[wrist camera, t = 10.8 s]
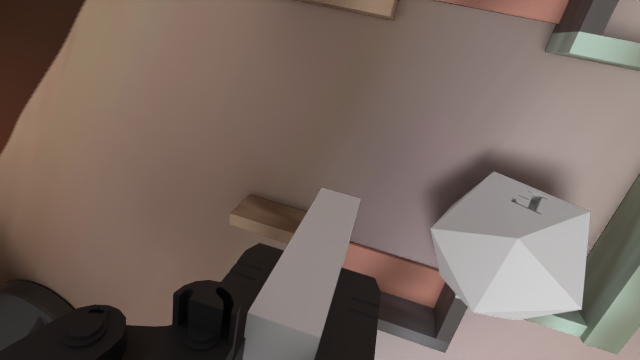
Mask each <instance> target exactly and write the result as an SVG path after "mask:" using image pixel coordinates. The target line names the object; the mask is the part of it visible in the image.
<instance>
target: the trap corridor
mask: <svg viewBox="0 0 640 360" xmlns="http://www.w3.org/2000/svg"><path fill="white" fill-rule="evenodd" d="M296 1H301V2H305V3H310V4H315V5H320V6H325V7H330V8H335V9H340V10H344V11H349V12H354V13H359V14H364V15H369V16H374V17H379V18H383V19H388V20H393V21H394V17H395V13H396V9H397V6H398V2H399V0H296ZM435 1H440V2H445V3H451V4H456V5H461V6H466V7H471V8H477V9H482V10H487V11H492V12H497V13H502V14H508V15H513V16H518V17H523V18H528V19H534V20H539V21H544V22H549V23H554V24H557V25H556V27H555V29H554V31H553V34H552V36H551V38H550V41H549V43H548V45H547V47H546V50H545V52H549V53H554V54H559V55H564V56H569V57H574V58H578V59H583V60H588V61H593V62H598V63H603V64H608V65H613V66H617V67H622V68H627V69H632V70H637V71H640V43H636V42H631V41H626V40H621V39H616V38H610V37H605V36H601V35H602V33H603V31H604V29H605V27H606V25H607V23H608V21H609V19H610V17H611V15H612V13H613V11H614V9H615V7H616V5H617V3H618V1H619V0H435ZM306 213H307V212H305V211H302V210H298V209H295V208H292V207H288V206H285V205H282V204H279V203H275V202H272V201H269V200H265V199H262V198H259V197H256V196H252V195H250V196H248V197H247V198H246V199H245V200H244V201H243V202H242V203H241V204H240V205H239V206H238V207H237V208H235V209H234V210H233V211H232V212H231V213H230V219H229V225H231V226H234V227H238V228H241V229H244V230H247V231H250V232H253V233H256V234H259V235H262V236H266V237H269V238H272V239H275V240H278V241H281V242H284V243H287V244H289V242H290V240H291V239H292V237H293V235H294V234H295V232H296V230H297V229H298V227H299V225H300V224H301V222H302V220H303V218H304V217H305V215H306ZM342 268H345V269H348V270H352V271H355V272H358V273H361V274H364V275H368V276H371V277H374V278H375V279H376V281H377V284H378V286H379V289H380V291H381V296H380V306H379V316H378V325H377V329H378V330H381V331H384V332H386V333H389V334H392V335H395V336H398V337H401V338H404V339H407V340H409V341H412V342H415V343H418V344H421V345H424V346H427V347H430V348H432V349H435V350H438V351H441V352H444V353H445V352H446V350H447V348H448V346H449V344H450V342H451V340H452V338H453V336H454V334H455V332H456V330H457V328H458V326H459V324H460V322H461V320H462V318H463V316H464V314H465V312H466V309H467V305H466V304H465V303H464V302H463V301H462V300H461V299H460V298H459V296H458V295H457V294H456V293H455V292H454V291H453V290H452V289H451V288H450V286H449V285H448V284H447V283H446V282H445V281H444V280H443V279H442V277H441V276H440V274H439V269H436V268H432V267H429V266H426V265H423V264H419V263H416V262H413V261H410V260H407V259H403V258H400V257H397V256H394V255H391V254H387V253H384V252H381V251H378V250H375V249H371V248H368V247H365V246H362V245H358V244H355V243H352V242H349V245H348V248H347V252H346V256H345V259H344V263H343V266H342ZM524 320H527V321H530V322H533V323H536V324H539V325H543V326H546V327H549V328H552V329H555V330H558V331H561V332H564V333H568V334H571V335H574V336H577V337H580V338H581V340H582V342H583V344H586V345H589V346H592V347H596V348H599V349H602V350H605V351H608V352H611V353H614V354H617V355H618V353H619V352H620V351H621V349H622V348H623V347H624V346H625V344H626V343H627V342H628V341H629V339H630V338H631V337H632V336H633V334H634V333H635V332H636V331H637V329H638V328H639V327H640V174H639V176H638V178H637V179H636V181H635V182H634V184H633V186H632V187H631V189H630V190H629V192H628V193H627V195H626V197H625V198H624V200H623V201H622V203H621V204H620V206H619V208H618V209H617V211H616V212H615V214H614V216H613V217H612V219H611V220H610V222H609V223H608V225H607V227H606V228H605V230H604V231H603V233H602V234H601V236H600V238H599V239H598V241H597V242H596V244H595V246H594V247H593V249H592V250H591V252H590V253H589V255H588V257H587V258H586V268H585V279H584V290H583V301H582V310H576V311H570V312H564V313H557V314H551V315H545V316H539V317H533V318H527V319H524Z"/></svg>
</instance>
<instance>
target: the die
mask: <svg viewBox="0 0 640 360" xmlns="http://www.w3.org/2000/svg"><path fill="white" fill-rule="evenodd" d="M589 223H590V211H588V210H585V209H583V208H581V207H578V206H576V205H573V204H571V203H569V202H566V201H564V200H561V199H559V198H557V197H554V196H552V195H549V194H547V193H545V192H542V191H540V190H537V189H535V188H533V187H530V186H528V185H526V184H523V183H521V182H518V181H516V180H514V179H511V178H509V177H506V176H504V175H502V174H499V173H497V172H493V173H491V174H490V175H489V176H488V177H486V178H485V179H484V180H483V181H481V182H480V183H479V184H478V185H477V186H475V187H474V188H473V189H472V190H470V191H469V192H468V193H467V194H465V195H464V196H463V197H462V198H460V199H459V200H458V201H457V202H455V203H454V204H453V205H452V206H451V207H450V208H449V209H448V210H447V211H446V212H445V213H444V214H443V215H442V216H441V218H440V219H439V220H438V221H437V222H436V223H435V224H434V225H433V226H432V227H431V228H430V230H431V235H432V240H433V245H434V249H435V254H436V259H437V264H438V269H439V274H440V276H441V277H442V279H443V280H444V281H445V282H446V283H447V284H448V285H449V286H450V288H451V289H452V290H453V291H454V292H455V293H456V294H457V295H458V296H459V298H460V299H461V300H462V301H463V302H464V303H465V304H466V305H467V307H468V308H469V309H470V310H471V311H472V312H473V313H478V314H483V315H489V316H494V317H500V318H505V319H511V320H521V319H527V318H533V317H539V316H545V315H551V314H557V313H564V312H570V311H576V310H582V301H583V290H584V279H585V268H586V256H587V245H588V234H589Z"/></svg>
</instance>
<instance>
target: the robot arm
mask: <svg viewBox="0 0 640 360" xmlns="http://www.w3.org/2000/svg"><path fill="white" fill-rule="evenodd" d="M360 201H361V199H360V198H357V197H353V196H350V195H346V194H343V193H339V192H336V191H332V190H328V189H325V188H321V190H320V192H319V193H318V195H317V197H316V198H315V200H314V202H313V203H312V205H311V207H310V208H309V210H308V212H307V213H306V215H305V217H304V218H303V220H302V222H301V224H300V225H299V227H298V229H297V230H296V232H295V234H294V235H293V237H292V239H291V240H290V242H289V244H288V245H287V247H286V249H285V250H284V251H283V250H280V249H277V248H274V247H271V246H267V245H264V244H261V243H259V244H257V245H255V246H253V247H251V248H249V249H247V250H246V251H245V252H244V253H243V255H242V256H241V257H240V258H239V260H238V261H237V263H236V264H235V265H234V266H233V267H232V269H231V270H230V272H229V273H228V274H227V275H226V276H225V278H224V279H223V280H222V281H221V282H217V281H212V280H205V281H195V282H193V283H190V284H187V285H184V286H183V287H181V288H180V289H179V290H177V291H176V292H175V293H173V323H172V325H169V326H159V327H151V326H130V325H126V317H125V316H124V315H123V314H122V312H121V311H120V310H119V309H116V308H114V307H111V306H109V305H91V306H86V307H81V308H78V309H75V310H73V309H72V308H71V307H70V306H69V305H68V304H67V303H66V302H65V301H63V300H62V299H61V298H60V297H58V296H57V295H56V294H54V293H53V292H51V291H49V290H47V289H46V288H44V287H42V286H39V285H37V284H34V283H31V282H27V281H20V280H15V281H10V282H7V283H5V284H3V285H2V286H0V360H374V355H375V345H376V335H377V325H378V316H379V306H380V296H381V291H380V289H379V286H378V284H377V281H376V279H375V278H374V277H371V276H368V275H364V274H361V273H358V272H355V271H352V270H348V269H345V268H342V266H343V263H344V259H345V256H346V252H347V248H348V245H349V241H350V237H351V234H352V230H353V227H354V223H355V219H356V216H357V212H358V208H359V205H360Z"/></svg>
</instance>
